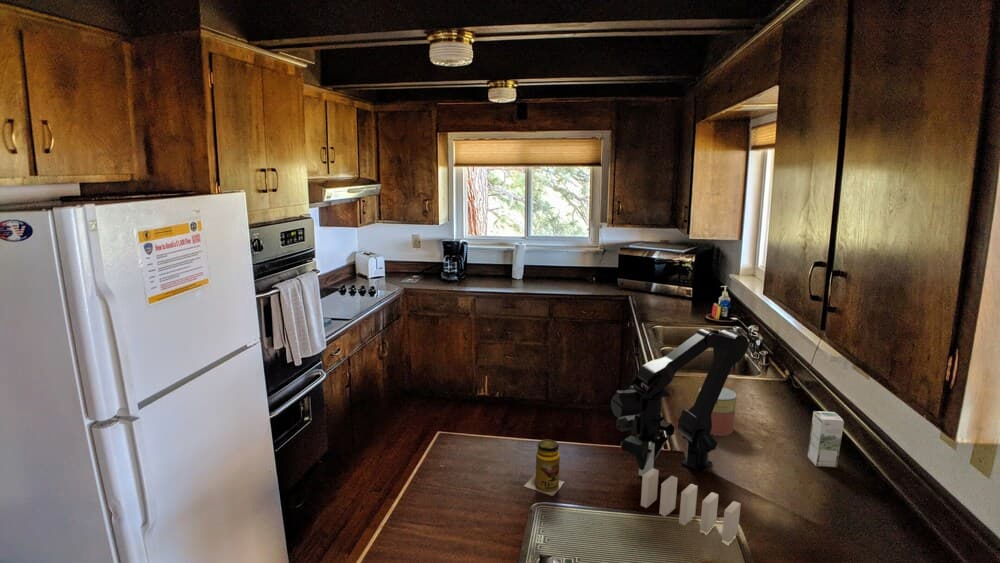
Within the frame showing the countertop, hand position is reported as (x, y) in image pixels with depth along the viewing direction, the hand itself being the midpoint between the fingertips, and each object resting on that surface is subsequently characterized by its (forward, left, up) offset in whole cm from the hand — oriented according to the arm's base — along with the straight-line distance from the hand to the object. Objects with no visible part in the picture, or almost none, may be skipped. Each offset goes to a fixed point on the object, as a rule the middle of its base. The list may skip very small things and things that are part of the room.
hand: (646, 465), depth 151 cm
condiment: (+24, -16, -2) cm, 29 cm away
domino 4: (+12, +17, -2) cm, 21 cm away
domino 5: (+12, +22, -2) cm, 26 cm away
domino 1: (0, 0, -2) cm, 2 cm away
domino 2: (+12, +7, -2) cm, 14 cm away
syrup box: (-40, +33, -2) cm, 52 cm away
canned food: (-40, +2, -2) cm, 40 cm away
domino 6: (+12, +27, -2) cm, 30 cm away
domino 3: (+12, +12, -2) cm, 17 cm away
